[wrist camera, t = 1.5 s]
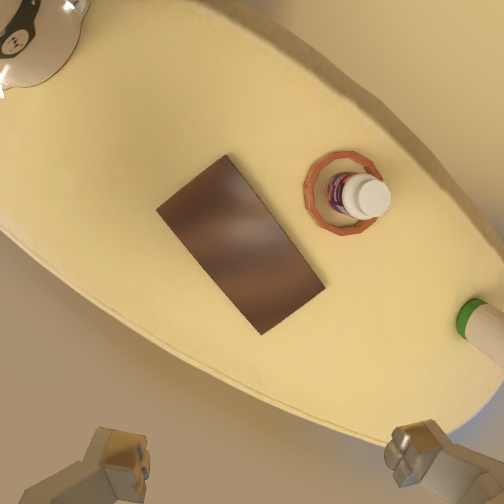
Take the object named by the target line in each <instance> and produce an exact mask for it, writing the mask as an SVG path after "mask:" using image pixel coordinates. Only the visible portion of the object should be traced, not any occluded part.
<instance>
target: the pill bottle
mask: <svg viewBox="0 0 504 504" xmlns="http://www.w3.org/2000/svg"><path fill="white" fill-rule="evenodd" d="M325 195H326V200H327V202H328V204H329V205H330V207H331V208H332V209H334V210H335V211H337V212H339V213H342V214H345V215H348V216H350V217H353V218H356V219H360V220H368V219H371V218H373V217H379V216H381V215H383V214H384V213H385V212H386V211H387V210H388V209H389V207H390V204H391V193H390V190H389V188H388V187H387V185H386V184H385V183H383V182H381V181H379V180H378V179H377V178H376V177H374V176H373V175H370V174H366V173H339V174H336V175H335V176H333V177H332V178H331V179H330V180H329V182H328V184H327V186H326V191H325Z"/></svg>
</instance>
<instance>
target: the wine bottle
mask: <svg viewBox="0 0 504 504" xmlns="http://www.w3.org/2000/svg"><path fill="white" fill-rule="evenodd" d="M457 329H458V332H459V334H460V335H461V336H462V337H463V338H464V339H466V340H467V341H468V342H469V343H471V344H472V345H473V346H474V347H476V348H477V349H478V350H480V351H481V352H482V353H484V354H485V355H486V356H488V357H489V358H490V359H491V360H493V361H494V362H495V363H496V364H498V365H499V366H500V367H502V368H503V369H504V312H502V311H500V310H498V309H497V308H495V307H493V306H492V305H490V304H488V303H486V302H484V301H482V300H479V299H475V300H471V301H470V302H468V303H467V304H466V305H465V306H464V307H463V309H462V310H461V312H460V314H459V317H458V320H457Z"/></svg>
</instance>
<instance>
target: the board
mask: <svg viewBox="0 0 504 504" xmlns="http://www.w3.org/2000/svg"><path fill="white" fill-rule="evenodd" d="M156 211H157V212H158V214H159V215H160V216H161V217H162V219H163V220H164V221H165V222H166V224H167V225H168V226H169V227H170V229H171V230H172V231H173V232H174V233H175V235H176V236H177V237H178V238H179V240H180V241H181V242H182V243H183V244H184V246H185V247H186V248H187V249H188V251H189V252H190V253H191V254H192V255H193V257H194V258H195V259H196V260H197V261H198V263H199V264H200V265H201V266H202V267H203V269H204V270H205V271H206V272H207V273H208V275H209V276H210V277H211V278H212V279H213V280H214V282H215V283H216V284H217V285H218V286H219V287H220V289H221V290H222V291H223V292H224V293H225V295H226V296H227V297H228V298H229V299H230V300H231V301H232V303H233V304H234V305H235V306H236V307H237V308H238V310H239V311H240V312H241V313H242V314H243V315H244V316H245V318H246V319H247V320H248V321H249V322H250V323H251V324H252V326H253V327H254V328H255V329H256V330H257V331H258V332H259V333H260V335H263V334H264V333H266V332H267V331H268V330H270V329H271V328H273V327H274V326H275V325H277V324H278V323H280V322H281V321H282V320H284V319H285V318H287V317H288V316H289V315H291V314H292V313H293V312H295V311H296V310H297V309H299V308H300V307H302V306H303V305H304V304H306V303H307V302H308V301H310V300H311V299H312V298H314V297H315V296H316V295H318V294H319V293H320V292H321V291H323V290H324V289H325V287H324V285H323V284H322V283H321V281H320V280H319V278H318V277H317V276H316V274H315V273H314V271H313V270H312V269H311V267H310V266H309V265H308V263H307V262H306V260H305V259H304V258H303V256H302V255H301V253H300V252H299V251H298V249H297V248H296V247H295V245H294V244H293V243H292V241H291V240H290V238H289V237H288V236H287V234H286V233H285V232H284V230H283V229H282V228H281V226H280V225H279V224H278V222H277V221H276V220H275V218H274V217H273V216H272V214H271V213H270V212H269V210H268V209H267V208H266V206H265V205H264V204H263V202H262V201H261V200H260V198H259V197H258V196H257V194H256V193H255V192H254V190H253V189H252V188H251V186H250V185H249V184H248V183H247V181H246V180H245V179H244V177H243V176H242V175H241V173H240V172H239V171H238V170H237V168H236V167H235V166H234V164H233V163H232V162H231V161H230V159H229V158H228V157H227V155H224V156H223V157H222V158H220V159H219V160H218V161H216V162H215V163H214V164H212V165H211V166H210V167H209V168H207V169H206V170H205V171H203V172H202V173H201V174H200V175H198V176H197V177H196V178H195V179H193V180H192V181H191V182H189V183H188V184H187V185H186V186H185V187H183V188H182V189H181V190H180V191H178V192H177V193H176V194H175V195H173V196H172V197H171V198H170V199H169V200H167V201H166V202H165V203H164V204H163V205H161V206H160V207H159V208H158V209H157V210H156Z"/></svg>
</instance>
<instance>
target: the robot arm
mask: <svg viewBox="0 0 504 504" xmlns="http://www.w3.org/2000/svg"><path fill="white" fill-rule="evenodd" d="M77 3H78V4H77ZM76 4H77V5H76ZM88 8H89V2H88V1H87V0H0V97H1V98H3V97H4V95H3V92H2V91H3V90H6V89H9V88H11V87H32V86H35V85H38V84H40V83H42V82H44V81H45V80H47V79H48V78H50V77H51V76H52V75H54V74H55V73H56V72H57V71H58V70H59V69H60V68H61V67H62V66H63V65H64V63H65V62H66V61H67V60H68V58H69V57H70V55H71V54H72V52H73V50H74V48H75V46H76V44H77V42H78V39H79V35H80V30H81V23H82V19H83V17H84V16H85V14H86V12H87V10H88ZM391 436H392V438H393V439H392V440H391V441H390V442H389V443H388V444H387V446H386V448H385V453H384V458H385V462H386V464H387V466H388V467H389V468H390V469H392V470H394V473H393V477H394V479H395V481H396V482H397V484H398V486H399V488H402V487H406V486H410V485H413V484H417V483H419V484H420V485H422V486H423V487H425V488H426V489H428V490H429V491H431V492H432V493H434V494H435V495H437V496H439V497H440V498H442V499H443V500H445V501H446V502H448V503H450V504H504V463H503V462H501V461H499V460H496V459H493V458H490V457H488V456H485V455H483V454H480V453H478V452H475V451H473V450H470V449H468V448H466V447H463V446H460V445H458V444H455V445H454V444H453V443H452V442H451V440H450V439H449V438H448V437H447V435H446V434H445V433H444V432H443V431H442V429H441V428H440V427H439V426H438V424H437V423H436V422H435V421H434V420H432V419H430V420H426V421H422V422H418V423H413V424H409V425H405V426H400V427H397V428H395V429H394V431H393V433H392V435H391ZM146 445H147V440H146V436H145V435H141V434H135V433H128V432H124V431H118V430H113V429H108V428H103V427H99V428H97V429H96V431H95V433H94V436H93V438H92V440H91V442H90V445H89V447H88V449H87V452H86V454H85V457H84V459H83V461H77V462H75V463H73V464H71V465H70V466H68V467H66V468H65V469H63V470H61V471H59V472H57V473H56V474H54V475H52V476H50V477H48V478H47V479H45V480H43V481H41V482H39V483H37V484H35V485H34V486H32V487H30V488H28V489H26V490H25V491H24V493H23V495H22V497H21V499H20V501H19V503H18V504H114V503H115V502H116V501H117V500H123V501H128V502H135V503H144V498H145V493H146V485H145V480H146V479H148V477H149V471H150V456H149V452H148V451H147V450H146Z"/></svg>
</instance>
